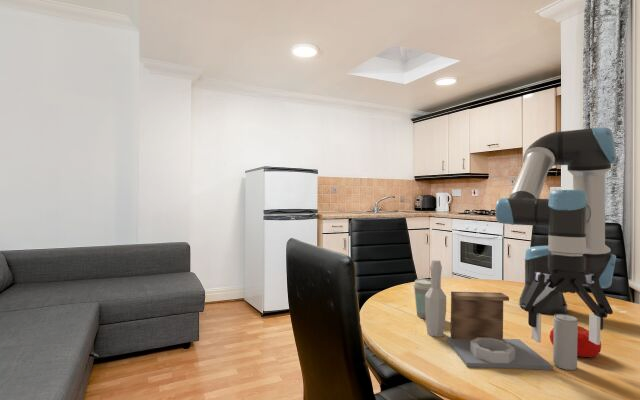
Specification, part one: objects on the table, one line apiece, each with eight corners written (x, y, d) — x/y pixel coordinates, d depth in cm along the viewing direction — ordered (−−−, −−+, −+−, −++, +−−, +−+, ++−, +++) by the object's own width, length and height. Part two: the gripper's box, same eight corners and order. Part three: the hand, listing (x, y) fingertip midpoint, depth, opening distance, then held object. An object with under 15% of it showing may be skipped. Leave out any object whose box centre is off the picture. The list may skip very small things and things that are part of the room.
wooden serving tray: (500, 342, 101) (501, 292, 101) (508, 348, 97) (509, 297, 97) (450, 340, 102) (451, 291, 102) (455, 347, 98) (456, 295, 98)
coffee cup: (440, 321, 118) (440, 285, 118) (413, 319, 120) (414, 283, 120) (437, 313, 127) (437, 279, 126) (412, 311, 128) (412, 278, 128)
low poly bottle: (421, 329, 111) (422, 258, 110) (442, 330, 110) (443, 258, 110) (427, 337, 104) (428, 262, 104) (449, 338, 104) (450, 262, 104)
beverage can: (548, 362, 89) (549, 314, 89) (566, 361, 90) (567, 313, 89) (563, 371, 84) (563, 320, 84) (582, 371, 85) (583, 320, 85)
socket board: (519, 342, 101) (519, 330, 101) (552, 369, 85) (552, 355, 85) (446, 340, 102) (447, 328, 102) (466, 366, 86) (467, 352, 86)
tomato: (585, 364, 88) (585, 337, 88) (542, 347, 99) (542, 323, 98) (609, 357, 92) (609, 332, 92) (565, 341, 102) (565, 318, 102)
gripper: (608, 252, 90) (607, 337, 90) (506, 250, 91) (505, 333, 91) (632, 257, 82) (631, 349, 82) (521, 254, 84) (519, 345, 84)
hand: (565, 341), depth 87 cm, fingers open, 13 cm apart
